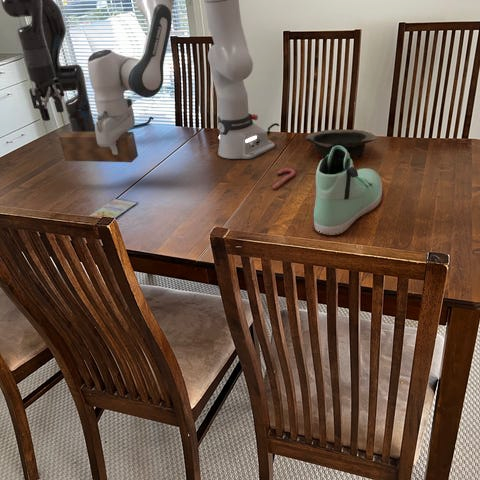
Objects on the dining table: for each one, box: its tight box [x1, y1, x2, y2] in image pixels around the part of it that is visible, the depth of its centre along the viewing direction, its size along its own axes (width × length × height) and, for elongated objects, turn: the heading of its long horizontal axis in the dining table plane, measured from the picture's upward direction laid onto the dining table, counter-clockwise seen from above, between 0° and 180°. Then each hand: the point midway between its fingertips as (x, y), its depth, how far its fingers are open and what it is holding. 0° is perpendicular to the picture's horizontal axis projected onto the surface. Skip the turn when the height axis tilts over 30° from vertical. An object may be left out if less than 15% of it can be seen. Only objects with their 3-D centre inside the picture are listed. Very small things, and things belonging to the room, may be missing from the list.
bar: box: [58, 131, 139, 163], centre depth 156 cm, size 24×5×8 cm, turn 77°
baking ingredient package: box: [88, 198, 137, 219], centre depth 147 cm, size 9×1×15 cm
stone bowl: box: [304, 128, 378, 159], centre depth 171 cm, size 25×25×9 cm
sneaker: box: [313, 146, 383, 236], centre depth 133 cm, size 14×35×20 cm, turn 152°
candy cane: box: [272, 167, 296, 190], centre depth 158 cm, size 6×15×2 cm, turn 145°
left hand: (53, 116), depth 153 cm, fingers open, 8 cm apart
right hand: (120, 149), depth 154 cm, fingers closed on bar, 5 cm apart
